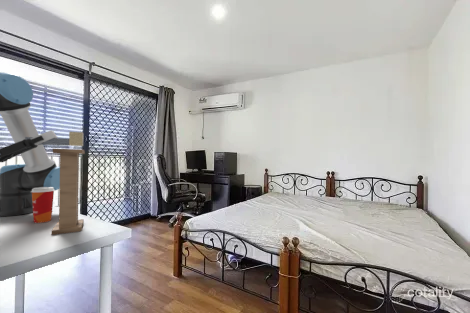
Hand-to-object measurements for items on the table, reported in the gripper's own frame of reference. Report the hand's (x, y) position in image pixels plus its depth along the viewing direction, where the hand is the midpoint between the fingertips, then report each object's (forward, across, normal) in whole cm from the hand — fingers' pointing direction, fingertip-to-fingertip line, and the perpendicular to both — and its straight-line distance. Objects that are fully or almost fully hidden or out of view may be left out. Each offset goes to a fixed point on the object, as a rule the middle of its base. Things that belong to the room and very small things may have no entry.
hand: (54, 134), depth 83 cm
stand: (-14, 0, -33) cm, 36 cm away
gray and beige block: (-2, 0, -4) cm, 4 cm away
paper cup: (-23, -17, -28) cm, 40 cm away
